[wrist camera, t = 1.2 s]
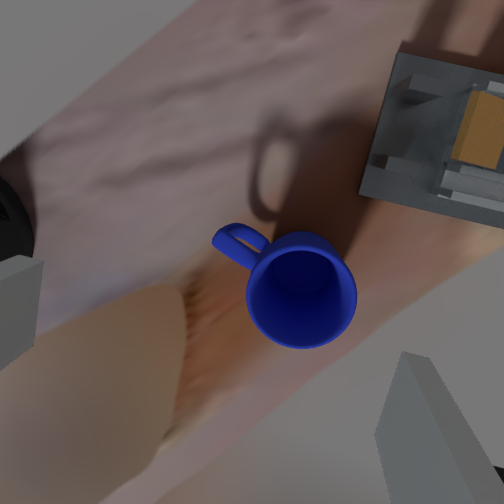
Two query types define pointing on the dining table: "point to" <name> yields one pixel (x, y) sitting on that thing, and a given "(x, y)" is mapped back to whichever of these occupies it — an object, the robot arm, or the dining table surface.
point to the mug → (293, 285)
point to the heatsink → (431, 143)
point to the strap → (481, 132)
